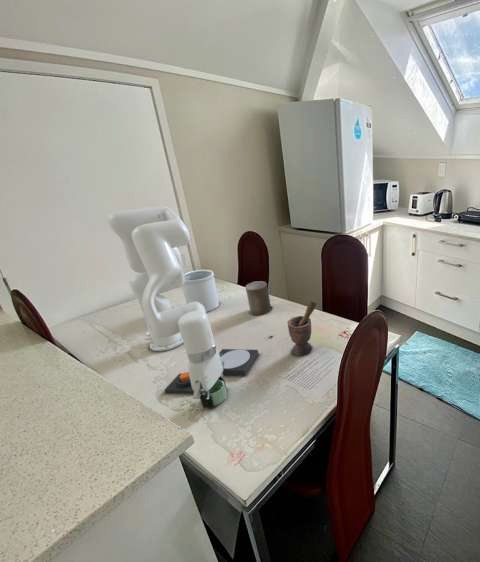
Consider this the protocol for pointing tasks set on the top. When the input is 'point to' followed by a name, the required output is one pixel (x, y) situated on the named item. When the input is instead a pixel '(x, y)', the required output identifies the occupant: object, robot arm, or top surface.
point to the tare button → (184, 377)
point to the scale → (237, 361)
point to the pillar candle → (258, 297)
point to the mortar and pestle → (301, 330)
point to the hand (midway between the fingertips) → (215, 397)
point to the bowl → (217, 392)
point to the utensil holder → (201, 288)
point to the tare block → (180, 386)
